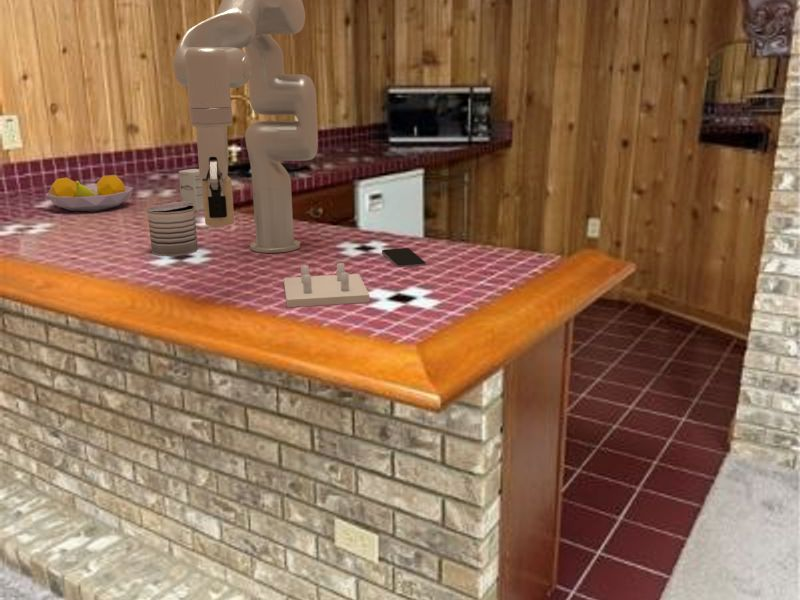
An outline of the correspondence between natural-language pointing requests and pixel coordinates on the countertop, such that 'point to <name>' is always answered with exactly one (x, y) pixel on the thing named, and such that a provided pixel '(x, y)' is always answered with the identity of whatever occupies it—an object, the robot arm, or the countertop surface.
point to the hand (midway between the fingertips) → (219, 213)
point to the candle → (229, 204)
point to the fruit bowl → (89, 194)
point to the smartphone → (403, 257)
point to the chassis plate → (325, 288)
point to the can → (173, 229)
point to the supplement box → (191, 188)
